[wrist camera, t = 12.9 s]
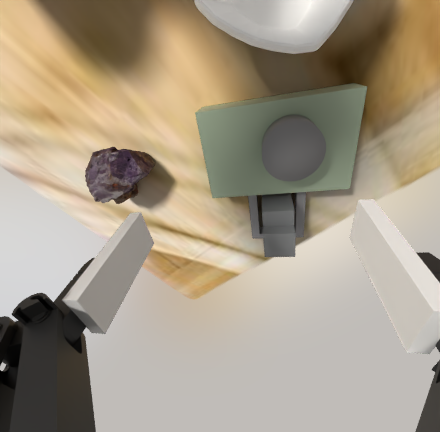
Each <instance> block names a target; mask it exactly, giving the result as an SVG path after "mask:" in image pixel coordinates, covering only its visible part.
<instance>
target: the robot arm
mask: <svg viewBox="0 0 440 432" xmlns="http://www.w3.org/2000/svg"><path fill="white" fill-rule="evenodd" d="M350 240H351V242H352V244H353V246H354V248H355V250H356V252H357V253H358V256H359V258H360V260H361V262H362V264H363V266H364V268H365V270H366V272H367V274H368V276H369V278H370V280H371V282H372V284H373V286H374V288H375V290H376V292H377V294H378V296H379V298H380V300H381V302H382V304H383V306H384V308H385V310H386V312H387V314H388V316H389V318H390V321H391V322H392V324H393V327H394V329H395V331H396V333H397V335H398V336H399V339H400V341H401V343H402V345H403V347H404V349H405V351H406V352H408V353H423V354H430V353H431V351H432V350H433V349H434V348H435V346H436V347H437V349H438V350H439V352H440V260H439V259H438V258H436V257H435V256H433V255H432V254H430V253H416V252H415V251H414V250H413V248H412V247H411V246H410V245H409V243H408V242H407V241H406V239H405V238H404V237H403V236H402V234H401V233H400V232H399V231H398V229H397V228H396V227H395V226H394V224H393V223H392V222H391V220H390V219H389V218H388V217H387V215H386V214H385V213H384V212H383V210H382V209H381V208H380V207H379V205H378V204H377V203H376V201H375V200H374V199H365V200H358V203H357V207H356V211H355V216H354V221H353V225H352V229H351V234H350ZM153 244H154V242H153V239H152V237H151V235H150V232H149V230H148V228H147V225H146V223H145V221H144V219H143V216H142V214H141V212H138V213H130V214H129V215H128V217H127V218H126V219H125V220H124V222H123V223H122V224H121V226H120V227H119V228H118V229H117V231H116V232H115V233H114V234H113V236H112V237H111V238H110V240H109V241H108V242H107V243H106V245H105V246H104V247H103V249H102V250H101V251H100V252H99V254H98V255H97V256H96V257H95V258H92V259H91V260H89V261H88V262H87V263H86V264H84V266H83V267H82V268H81V269H80V270H79V272H78V274H76V275H75V276H74V278H73V280H71V281H70V283H69V284H68V285H67V286H66V288H65V289H64V290H63V291H62V292H61V294H60V295H59V296H58V297H57V299H56V300H55V301H54V302H52V300H51V299H50V298H49V297H48V296H47V295H46V294H43V293H37V294H34V295H31V296H30V297H28V298H26V299H25V300H23V301H22V302H21V303H20V304H18V306H17V307H16V308H15V309H14V311H13V313H12V315H13V316H14V317H15V318H16V319H18V320H19V321H16V322H14V321H13V320H12V319H10V318H9V317H5V316H4V317H0V365H1V363H2V362H3V363H5V364H6V367H5V369H4V370H3V371H1V370H0V432H96V430H95V421H94V412H93V403H92V394H91V385H90V376H89V367H88V359H87V349H86V341H85V336H84V334H83V333H82V332H83V331H84V329H85V328H86V327H87V328H88V329H89V330H90V331H91V332H92V333H102V334H105V333H106V331H107V329H108V328H109V326H110V324H111V322H112V320H113V318H114V317H115V315H116V313H117V311H118V309H119V307H120V305H121V304H122V302H123V300H124V298H125V296H126V294H127V292H128V291H129V289H130V287H131V285H132V283H133V281H134V279H135V277H136V276H137V274H138V272H139V270H140V268H141V266H142V265H143V263H144V261H145V259H146V257H147V255H148V254H149V252H150V250H151V248H152V246H153ZM432 370H433V371H435V375H434V378H433V381H432V384H431V387H430V390H429V393H428V396H427V399H426V403H425V405H424V408H423V411H422V414H421V417H420V420H419V423H418V426H417V429H416V432H440V360H439V362H438V363H437V364H436V365H435V366H434V367H433V368H432Z"/></svg>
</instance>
